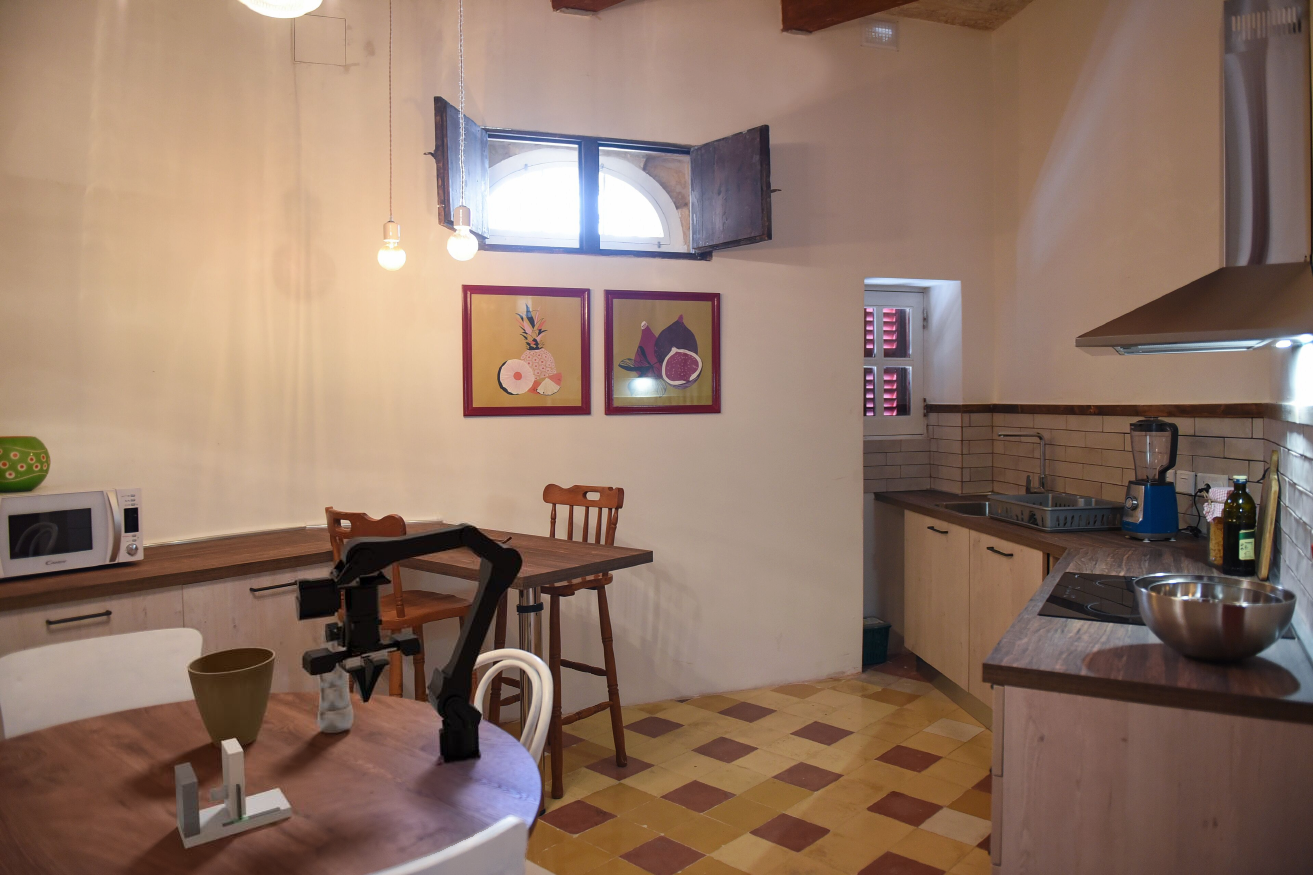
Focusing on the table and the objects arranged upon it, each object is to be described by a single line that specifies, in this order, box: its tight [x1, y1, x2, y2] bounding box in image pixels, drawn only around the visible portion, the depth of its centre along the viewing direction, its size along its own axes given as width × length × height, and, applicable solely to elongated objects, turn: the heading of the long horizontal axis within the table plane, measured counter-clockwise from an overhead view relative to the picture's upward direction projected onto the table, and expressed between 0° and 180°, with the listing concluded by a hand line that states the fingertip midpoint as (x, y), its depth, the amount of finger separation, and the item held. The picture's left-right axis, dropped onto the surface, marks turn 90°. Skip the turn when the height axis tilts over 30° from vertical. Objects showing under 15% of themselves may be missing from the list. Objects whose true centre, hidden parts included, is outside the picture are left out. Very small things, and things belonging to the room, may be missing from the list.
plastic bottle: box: [317, 629, 355, 734], centre depth 160 cm, size 6×7×20 cm
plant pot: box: [186, 646, 276, 749], centre depth 156 cm, size 15×15×16 cm
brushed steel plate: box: [174, 761, 200, 839], centre depth 122 cm, size 2×8×8 cm, turn 37°
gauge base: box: [176, 787, 292, 850], centre depth 126 cm, size 14×8×2 cm, turn 127°
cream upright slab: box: [209, 738, 246, 820], centre depth 125 cm, size 4×7×10 cm, turn 37°
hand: (365, 701), depth 140 cm, fingers closed
